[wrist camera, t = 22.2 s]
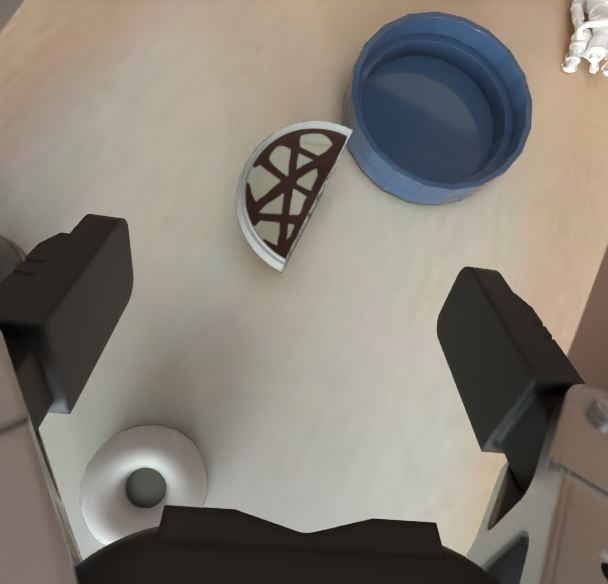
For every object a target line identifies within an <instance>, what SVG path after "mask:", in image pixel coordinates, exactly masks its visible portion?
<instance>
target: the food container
mask: <svg viewBox="0 0 608 584" xmlns="http://www.w3.org/2000/svg"><path fill="white" fill-rule="evenodd" d="M352 131H353V130H352V129H350V128H348V127H345V126H343V125H340V124H336V123H333V122H326V121H305V122H299V123H295V124H292V125H289V126H286V127H284V128H282V129H280V130H278V131H277V132H275V133H273V134H271V135H270V136H269V137H267V138H266V139H265V140H263V141H262V143H261V144H260V145H259V146H258V147H257V148H256V149H255V150H254V152H253V153H252V155H251V156H250V158H249V159H248V161H247V163H246V165H245V167H244V169H243V171H242V173H241V176H240V179H239V183H238V187H237V195H236V206H237V215H238V219H239V223H240V226H241V228H242V231H243V233H244V235H245V237H246V239H247V241H248V242H249V244H250V245H251V247H252V248H253V249H254V251H255V252H256V253H257V254H258V255H259V256H260V257H261V258H262V259H263V260H264V261H265V262H267V263H268V264H269V265H270V266H272V267H273V268H275V269H277V270H278V271H280V272H283V270H284V268H285V266H286V264H287V262H288V260H289V258H290V256H291V254H292V252H293V250H294V248H295V247H296V245H297V243H298V241H299V239H300V237H301V235H302V233H303V231H304V229H305V227H306V225H307V223H308V221H309V219H310V217H311V215H312V213H313V211H314V209H315V207H316V206H317V204H318V202H319V200H320V198H321V196H322V194H323V192H324V190H325V188H326V186H327V184H328V181H329V179H330V177H331V175H332V173H333V171H334V169H335V167H336V165H337V162H338V160H339V158H340V156H341V154H342V152H343V150H344V148H345V146H346V143H347V141H348V139H349V138H350V135H351V133H352Z"/></svg>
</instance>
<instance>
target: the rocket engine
mask: <svg viewBox="0 0 608 584" xmlns="http://www.w3.org/2000/svg"><path fill="white" fill-rule="evenodd" d="M570 11H571V12H572V15H571V16H572V23H573V25H574V27H575V33H574V34H573V35H572V36H571V44H570V46H569V49H570V50H569V52H568V53H570V56H569V57H566V55H567V54H568V53H567V54H566V55H565V56H564V57H565V58H566V59H565V62H566V66H563V67H562V65H565V64H562V65H561V67H562V68H564V69H563V71H565V72H567V73H571V72H574V71H576V70H575V69H576V68H577V66H576V64H577V65H578V63H579V62H580V58H581V57H584V58H586V59H588V60H589V62H591V63H592V64H591V65H590V72H591V73H596V72H597V71H598V70H599V65H600V62H599V61H600V60H602V59H603V58H604V57H606V56H607V57H608V0H573V1H572V4H571V9H570ZM584 12H586V13H587V14H589V15H588V18H589V21H587V22H584V23H583V21H584ZM590 27H591V28H592V29H593V37H592V36H591V31H590V30H589V29H587V28H590ZM589 41H590V42H589ZM588 43H589V44H588ZM587 44H588V47H587ZM586 48H587V50H586V51H585V49H586ZM567 56H568V55H567ZM579 57H580V58H579ZM607 57H606V58H605V59H606V60H608V59H607ZM606 64H607V65H608V61H607V63H606ZM606 64H605V65H606ZM605 65H604V66H605ZM575 66H576V68H575ZM604 66H603V67H602V68H601V69H602V70H604V69H603V68H605V67H604ZM606 67H607V66H606ZM603 72H605V73H604V75H606V76H608V68H607V71H606V70H604V71H603Z"/></svg>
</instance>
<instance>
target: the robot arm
mask: <svg viewBox="0 0 608 584" xmlns="http://www.w3.org/2000/svg"><path fill="white" fill-rule="evenodd" d="M132 288H133V268H132V258H131V249H130V239H129V230H128V225H127V222H126V220H125V219H123V218H116V217H108V216H101V215H94V214H87V215H86V216H85V217H84V218H83V219H82V220H81V221H80V222H79V224H78V225H77V226H76V227H75V228H74V229H73V230H72V231H71V233H70V234H69V233H59V234H57V235H55V236H53V237H51V238H49V239H47V240H45V241H43V242H41V243H39V244H38V245H37V246H36V247H35V248H34V249H33V250H32V251H31V252H30V253H29V254H28V255H27V256H26V255H25V254H24V252H23V251H22V250H21V249H20V248H19V247H18V246H17V245H16V244H15V243H13V242H12V241H10V240H9V239H7V238H5V237H3V236H1V235H0V584H608V391H607V390H605V389H602V388H599V387H597V386H593V385H587V384H585V383H584V381H583V380H582V378H581V377H580V376H579V374H578V372H577V371H576V370H575V368H574V367H573V365H572V364H571V363H570V361H569V360H568V358H567V357H566V355H565V354H564V353H563V351H562V350H561V348H560V347H559V345H558V344H557V343H556V341H555V340H553V339H552V335H551V334H550V333H549V331H548V330H547V328H546V327H545V326H542V324H543V323H542V321H541V320H540V318H539V317H538V316H537V314H536V313H535V311H534V310H533V308H532V307H531V306H529V305H528V304H527V303H526V302H525V301H523V300H522V299H521V298H520V297H519V296H518V295H516V294H515V293H513V292H512V290H511V289H510V287H509V286H508V284H507V283H506V281H505V280H504V278H503V277H502V275H501V274H500V273H499V272H498V271H496V270H489V269H482V268H474V267H464V268H463V269H462V270H461V271H460V272H459V274H458V276H457V278H456V280H455V282H454V284H453V286H452V289H451V291H450V293H449V295H448V297H447V299H446V301H445V303H444V305H443V307H442V310H441V312H440V314H439V317H438V321H437V336H438V339H439V342H440V344H441V347H442V350H443V352H444V355H445V357H446V360H447V363H448V365H449V368H450V370H451V373H452V376H453V378H454V381H455V383H456V386H457V389H458V391H459V394H460V396H461V399H462V402H463V404H464V407H465V409H466V412H467V415H468V417H469V420H470V422H471V425H472V428H473V430H474V433H475V435H476V438H477V441H478V443H479V446H480V448H481V451H483V452H494V453H505V456H506V458H507V460H508V461H507V462H506V464H505V465H504V466H503V467H502V469H501V471H500V473H499V476H498V479H497V481H496V484H495V487H494V490H493V492H492V495H491V498H490V501H489V503H488V506H487V509H486V512H485V515H484V517H483V520H482V523H481V526H480V528H479V531H478V534H477V536H476V539H475V541H474V543H473V545H472V547H471V548H470V550H469V551H468V553H467V554H466V556H463V555H461V554H459V553H457V552H455V551H453V550H451V549H449V548H447V547H445V546H442V544H441V540H440V536H439V532H438V528H437V524H436V523H432V522H417V521H402V520H387V519H369V520H365V521H360V522H356V523H352V524H347V525H343V526H339V527H335V528H330V529H326V530H322V531H317V532H313V533H301V532H298V531H295V530H292V529H289V528H286V527H283V526H280V525H278V524H275V523H272V522H269V521H266V520H263V519H261V518H258V517H255V516H252V515H249V514H246V513H243V512H241V511H238V510H235V509H220V508H205V507H190V506H174V505H164V509H163V513H162V517H161V521H160V525H159V526H156V527H152V528H147V529H144V530H141V531H138V532H135V533H132V534H130V535H127V536H125V537H123V538H121V539H119V540H116V541H114V542H112V543H110V544H108V545H107V546H105V547H103V548H102V549H100V550H98V551H97V552H95V553H93V554H92V555H90V556H89V557H87V558H86V559H85V560H83V561H82V558H81V555H80V552H79V549H78V546H77V543H76V540H75V537H74V534H73V531H72V529H71V526H70V523H69V520H68V517H67V514H66V511H65V508H64V505H63V502H62V499H61V496H60V493H59V490H58V487H57V484H56V480H55V477H54V474H53V471H52V468H51V465H50V462H49V459H48V456H47V453H46V450H45V446H44V443H43V440H42V437H41V434H40V431H39V429H38V428H39V426H40V425H41V423H42V421H43V419H44V418H45V416H46V414H47V412H52V413H64V414H70V413H71V411H72V409H73V407H74V405H75V404H76V402H77V400H78V398H79V396H80V394H81V392H82V390H83V388H84V386H85V384H86V382H87V381H88V379H89V377H90V375H91V373H92V371H93V369H94V367H95V365H96V363H97V361H98V359H99V357H100V356H101V354H102V352H103V350H104V348H105V346H106V344H107V342H108V340H109V338H110V336H111V334H112V332H113V331H114V329H115V327H116V325H117V323H118V321H119V319H120V317H121V315H122V313H123V311H124V309H125V307H126V306H127V304H128V302H129V299H130V297H131V293H132Z"/></svg>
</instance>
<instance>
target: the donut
mask: <svg viewBox="0 0 608 584" xmlns="http://www.w3.org/2000/svg"><path fill="white" fill-rule="evenodd" d="M140 468H152V469H155V470H156V471H158V472H159V473H161V475H162V476H163V477H164V479H165V482H166V493H165V496H164V498H163V499H162V500H161V502H160V503H159V504H157V505H155V506H153V507H150V508H142V507H138V506H136V505H134V504H133V503H132V502H131V501H130V500H129V498H128V497H127V494H126V482H127V479H128V477H129V476H130V475H131V473H133V472H134V471H135V470H137V469H140ZM206 497H207V471H206V467H205V464H204V461H203V458H202V455H201V454H200V452H199V451H198V449H197V448H196V447H195V445H194V444H193V443H192V441H191V440H190V439H188V438H187V437H185V436H184V435H182V434H181V433H180V432H178V431H177V430H174V429H170V428H167V427H163V426H160V425H148V426H137V427H134V428H131V429H128V430H125V431H123V432H120V433H118V434H117V435H115V436H114V437H113V438H111V439H110V440H109V441H107V442H106V443H104V444H103V445H102V446H101V447H100V449H99V450H98V451H97V453H96V454H95V455H94V457H93V458H92V459H91V461H90V462H89V464H88V466H87V468H86V471H85V474H84V477H83V479H82V482H81V493H80V506H81V509H82V513H83V516H84V520H85V523H86V525H87V526H88V528H89V529H90V531H91V532H92V533H93V535H94V536H95V538H96V539H97V540H98V541H100V542H101V543H103V544H104V545H106V546H107V545H108V544H110V543H112V542H114V541H116V540H119V539H121V538H123V537H125V536H127V535H130V534H132V533H135V532H138V531H141V530H144V529H147V528H152V527H156V526H159V525H160V521H161V517H162V513H163V509H164V505H174V506H190V507H203V506H204V503H205V500H206Z"/></svg>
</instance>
